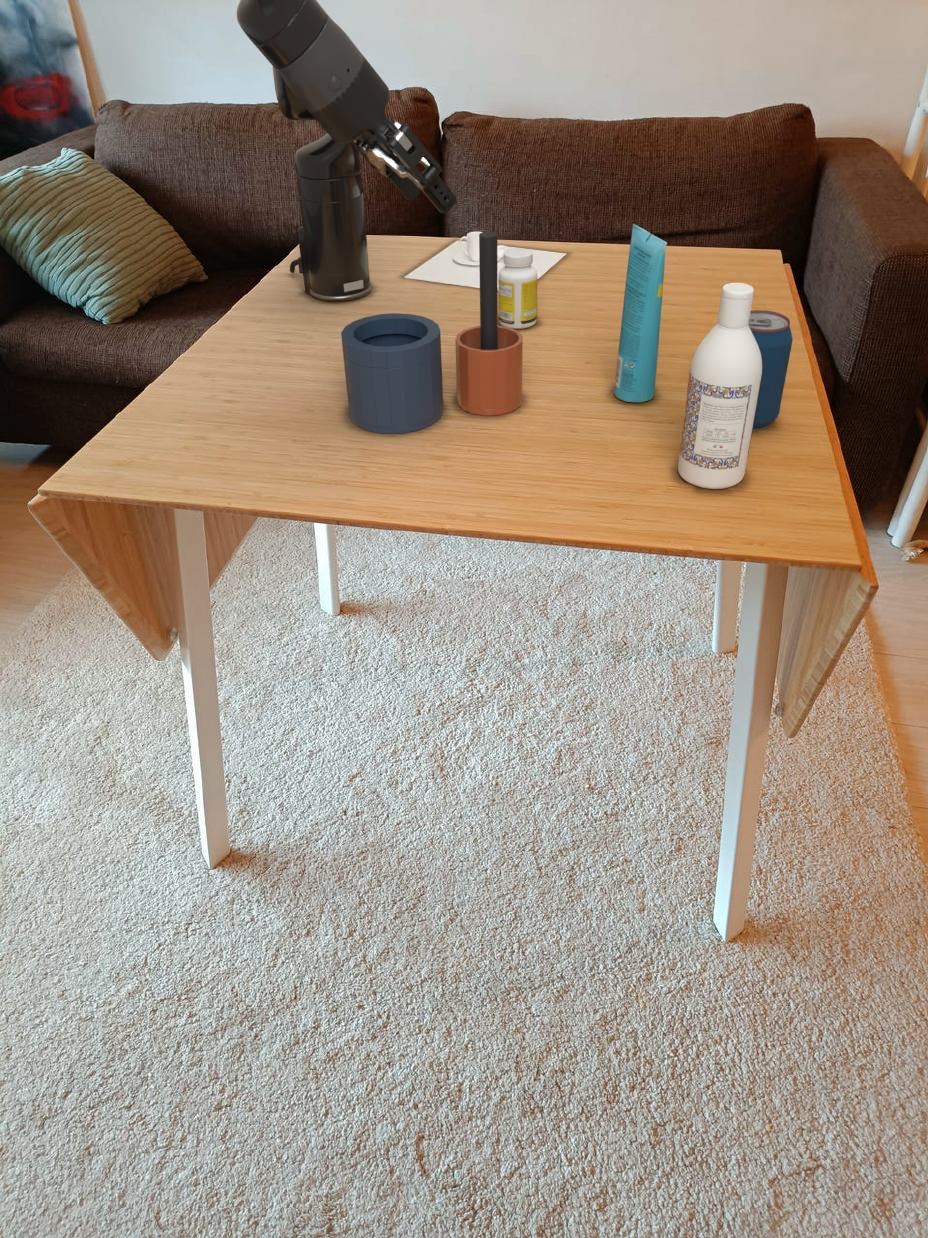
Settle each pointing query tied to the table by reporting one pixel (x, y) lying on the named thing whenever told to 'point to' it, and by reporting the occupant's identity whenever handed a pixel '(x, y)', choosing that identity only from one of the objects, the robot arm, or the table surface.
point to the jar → (393, 372)
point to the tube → (641, 318)
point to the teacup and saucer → (473, 263)
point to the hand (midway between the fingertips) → (432, 200)
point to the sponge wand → (488, 291)
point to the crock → (489, 372)
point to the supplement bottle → (517, 289)
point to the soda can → (770, 362)
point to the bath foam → (722, 396)
